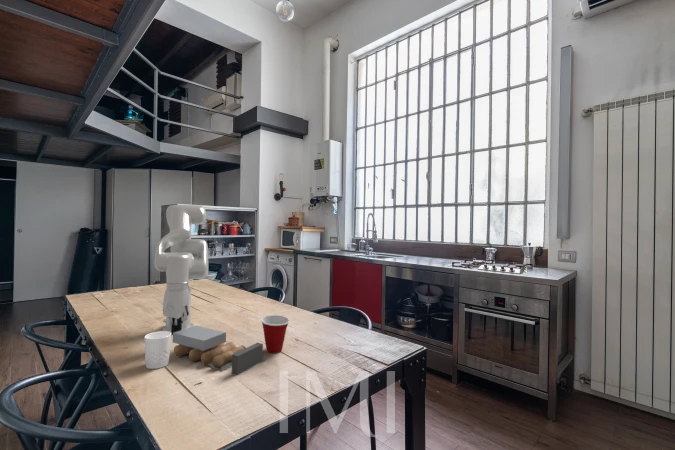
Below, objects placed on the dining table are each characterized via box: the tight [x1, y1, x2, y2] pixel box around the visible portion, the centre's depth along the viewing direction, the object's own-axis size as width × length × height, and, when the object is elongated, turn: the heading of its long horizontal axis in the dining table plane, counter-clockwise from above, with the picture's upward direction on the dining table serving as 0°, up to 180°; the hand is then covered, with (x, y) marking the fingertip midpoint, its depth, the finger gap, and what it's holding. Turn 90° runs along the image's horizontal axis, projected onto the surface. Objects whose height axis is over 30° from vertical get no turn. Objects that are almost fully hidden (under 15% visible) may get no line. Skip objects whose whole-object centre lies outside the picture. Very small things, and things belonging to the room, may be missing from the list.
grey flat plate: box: [208, 361, 232, 371], centre depth 111 cm, size 6×12×1 cm, turn 153°
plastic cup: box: [260, 314, 291, 354], centre depth 122 cm, size 11×11×12 cm
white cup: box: [144, 330, 172, 370], centre depth 107 cm, size 8×8×10 cm
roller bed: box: [173, 341, 237, 366], centre depth 116 cm, size 18×12×4 cm, turn 63°
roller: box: [212, 345, 247, 369], centre depth 111 cm, size 4×12×4 cm
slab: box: [172, 325, 227, 351], centre depth 118 cm, size 16×10×4 cm, turn 63°
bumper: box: [231, 342, 264, 376], centre depth 107 cm, size 2×12×6 cm, turn 153°
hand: (176, 334), depth 123 cm, fingers closed
